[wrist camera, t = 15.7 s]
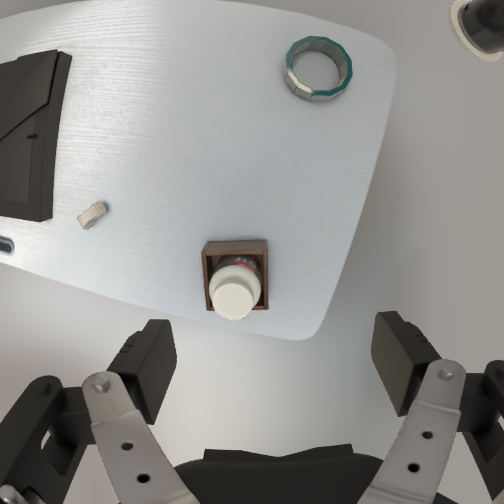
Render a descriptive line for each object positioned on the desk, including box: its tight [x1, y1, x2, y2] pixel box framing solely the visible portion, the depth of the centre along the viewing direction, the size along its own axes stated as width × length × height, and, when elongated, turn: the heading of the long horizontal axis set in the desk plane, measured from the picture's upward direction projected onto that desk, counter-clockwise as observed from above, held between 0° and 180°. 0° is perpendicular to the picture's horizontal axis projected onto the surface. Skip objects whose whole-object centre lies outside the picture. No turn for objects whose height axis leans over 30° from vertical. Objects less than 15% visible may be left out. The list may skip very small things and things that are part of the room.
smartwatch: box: [77, 202, 107, 230], centre depth 36 cm, size 4×2×4 cm, turn 123°
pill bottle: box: [209, 254, 261, 320], centre depth 35 cm, size 5×5×10 cm
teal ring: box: [283, 36, 353, 102], centre depth 31 cm, size 7×7×4 cm
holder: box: [201, 240, 269, 311], centre depth 38 cm, size 7×7×4 cm
